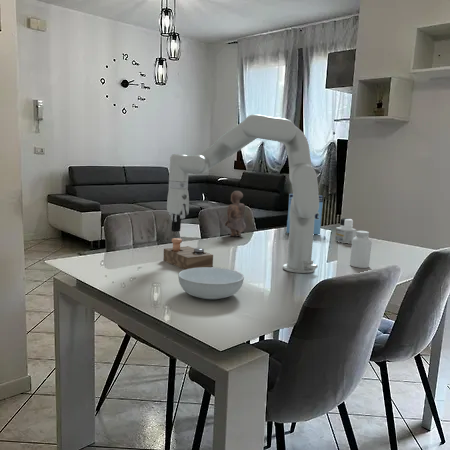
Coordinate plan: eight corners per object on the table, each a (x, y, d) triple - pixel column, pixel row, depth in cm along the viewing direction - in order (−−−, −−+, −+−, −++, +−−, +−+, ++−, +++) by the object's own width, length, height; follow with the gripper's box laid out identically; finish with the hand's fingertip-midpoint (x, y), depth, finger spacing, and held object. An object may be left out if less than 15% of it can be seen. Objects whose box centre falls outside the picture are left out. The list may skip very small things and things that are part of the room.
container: (334, 241, 255) (336, 217, 253) (345, 240, 258) (348, 217, 256) (343, 243, 248) (346, 219, 246) (355, 243, 251) (357, 219, 249)
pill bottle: (356, 268, 193) (359, 233, 191) (346, 264, 201) (349, 229, 199) (372, 268, 195) (376, 233, 193) (362, 263, 203) (365, 229, 201)
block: (212, 267, 184) (213, 254, 183) (187, 270, 177) (187, 257, 176) (187, 257, 198) (188, 246, 197) (163, 260, 191) (163, 248, 190)
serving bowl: (240, 287, 159) (241, 267, 158) (245, 307, 138) (246, 285, 137) (179, 284, 158) (180, 265, 157) (175, 304, 137) (176, 282, 136)
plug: (205, 262, 185) (205, 249, 184) (197, 263, 183) (197, 250, 182) (199, 260, 188) (200, 247, 187) (191, 261, 186) (191, 248, 185)
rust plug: (183, 252, 188) (183, 239, 187) (174, 253, 185) (175, 240, 184) (178, 250, 191) (178, 238, 190) (169, 251, 188) (169, 238, 187)
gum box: (286, 233, 272) (289, 194, 269) (286, 231, 277) (289, 193, 274) (320, 235, 271) (323, 196, 267) (319, 233, 276) (322, 195, 272)
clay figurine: (236, 233, 262) (238, 189, 259) (250, 236, 256) (252, 191, 252) (220, 235, 253) (223, 190, 249) (234, 238, 246) (237, 191, 242)
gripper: (196, 187, 180) (193, 234, 183) (176, 184, 192) (174, 227, 195) (180, 187, 176) (177, 235, 179) (160, 183, 187) (158, 228, 190)
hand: (175, 231), depth 187 cm, fingers closed
